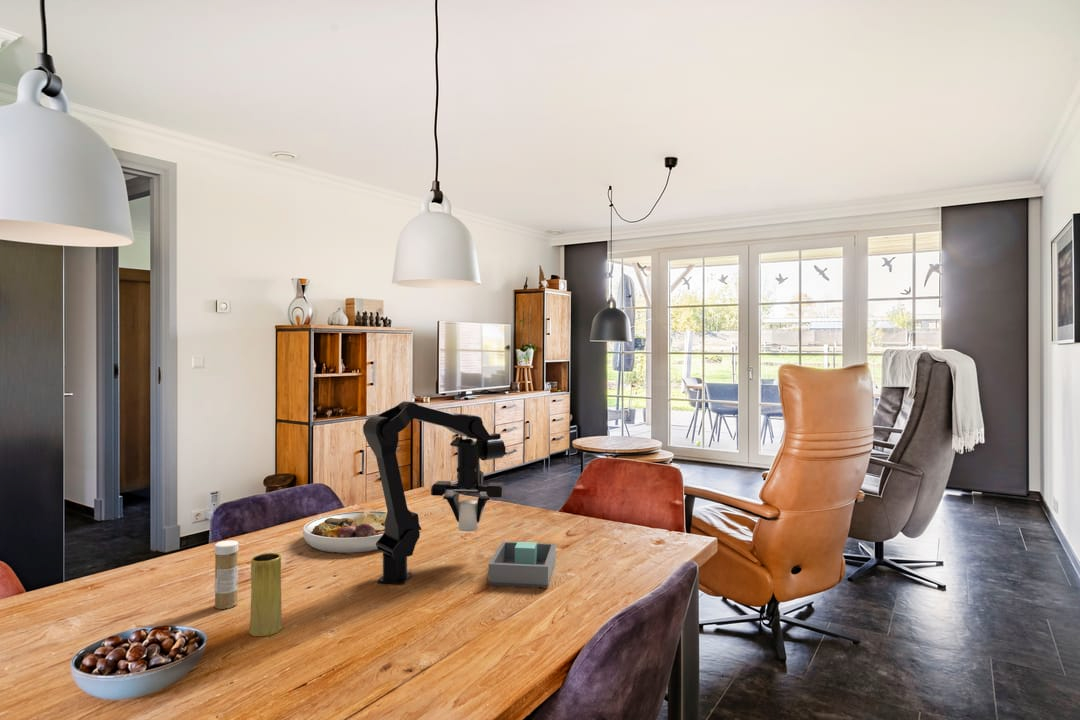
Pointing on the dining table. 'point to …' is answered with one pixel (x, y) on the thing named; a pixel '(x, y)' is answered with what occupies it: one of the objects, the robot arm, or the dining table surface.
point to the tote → (521, 567)
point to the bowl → (346, 531)
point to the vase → (265, 595)
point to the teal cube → (526, 553)
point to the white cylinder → (468, 515)
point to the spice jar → (226, 574)
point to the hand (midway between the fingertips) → (468, 521)
